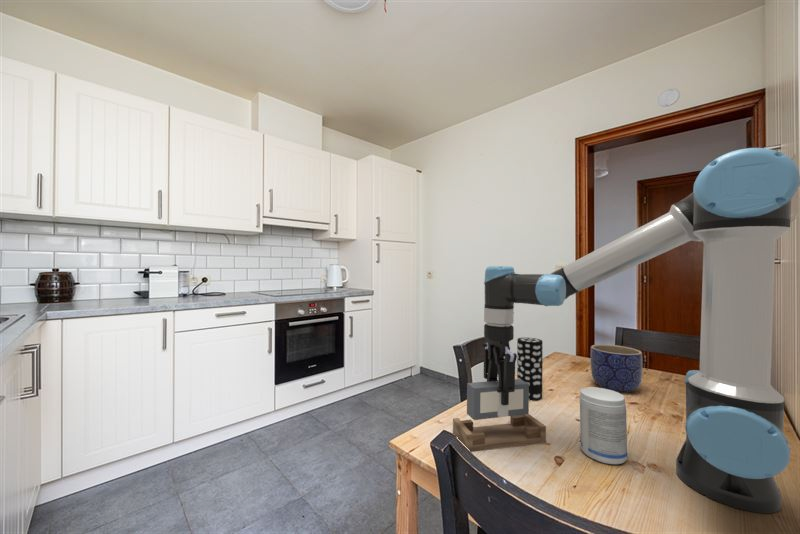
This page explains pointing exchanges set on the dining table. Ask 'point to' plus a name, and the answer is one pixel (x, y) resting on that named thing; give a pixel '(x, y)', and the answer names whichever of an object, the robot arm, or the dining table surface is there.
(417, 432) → the dining table surface
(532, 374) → the spotted tube
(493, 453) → the dining table surface
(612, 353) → the planter
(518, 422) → the tray
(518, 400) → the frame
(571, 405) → the dining table surface
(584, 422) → the supplement tub
